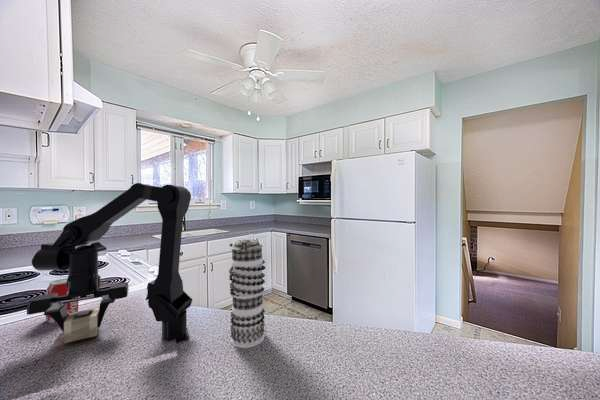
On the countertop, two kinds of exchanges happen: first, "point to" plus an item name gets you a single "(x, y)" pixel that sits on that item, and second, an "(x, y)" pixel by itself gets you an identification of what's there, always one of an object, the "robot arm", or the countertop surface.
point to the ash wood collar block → (81, 326)
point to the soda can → (61, 289)
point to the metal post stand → (100, 336)
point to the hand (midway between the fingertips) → (83, 330)
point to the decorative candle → (247, 294)
